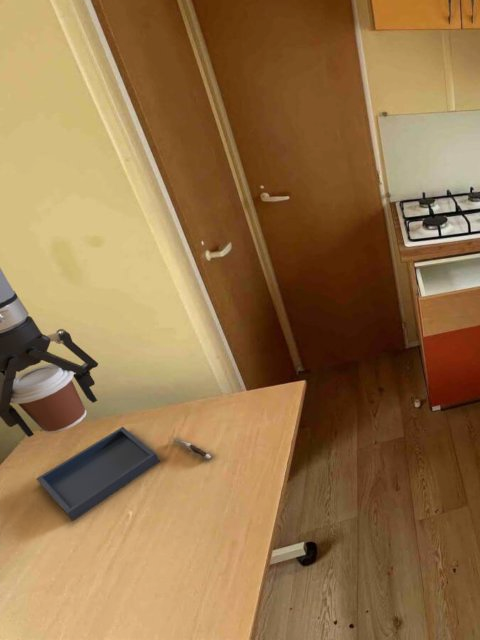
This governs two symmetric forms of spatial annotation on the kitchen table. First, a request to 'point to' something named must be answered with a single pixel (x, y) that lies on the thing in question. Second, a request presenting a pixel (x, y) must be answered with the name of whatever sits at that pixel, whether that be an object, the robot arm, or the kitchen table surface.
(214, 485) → the kitchen table surface
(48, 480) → the tray
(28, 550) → the kitchen table surface
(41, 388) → the coffee cup
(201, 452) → the pocket knife
